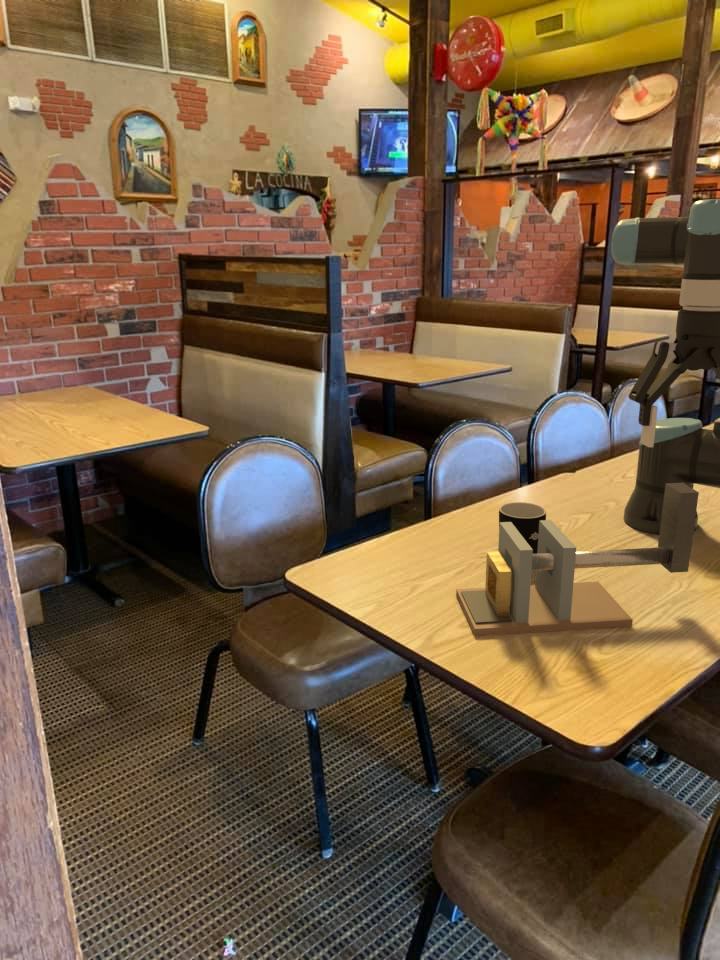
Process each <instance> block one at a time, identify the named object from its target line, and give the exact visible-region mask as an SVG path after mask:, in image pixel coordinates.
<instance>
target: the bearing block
mask: <svg viewBox="0 0 720 960" xmlns="http://www.w3.org/2000/svg"><path fill="white" fill-rule="evenodd" d="M497 549H498V550H497V551H499V553H500V554H501V556H502V557H503V559H504V561H505V562H506V564H507V565H508V567H509V568H510V570H511V571H512V575H511V594H510V613H509V616H497V615H496V613H495V611H494V609H493V608H492V606H491V604H490V602H489V600H488V598H487V597H486V595H485V587H474V588H473V587H472V588H458V589H457V588H455V589H456V590H455V595H456V598H457V599H458V600H457V601H458V602H459V604H460V607H461V609H462V611H463V613H464V615H465V617H466V619H467V622H468V624H469V626H470V629H471V630H472V633H473V635H474V636H489V635H490V636H492V635H505V634H506V635H508V634H510V635H511V634H524V633H537V632H538V633H541V632H555V631H557V632H559V631H574V630H575V631H576V630H592V629H606V628H609V629H610V628H623V627H626V628H627V627H633V621H634V620H633V618H632V617H631V616H630V615H629V614H628V613H627V611H625V609H624V608H623V607H622V606H621V605H620V604H619V602H617V600H616V599H615V598H614V597H613V596H612V595H611V594H610V592H608V591H607V589H606V588H605V587H604V586H603V585H602V584H601V583H600V582H599V581H586V582H585V581H584V582H574V580H575V572H576V571H575V559H576V552H577V546H576V545H575V544H573V542H572V541H571V540H570V539H569V538H568V537H567V535H565V534H564V533H563V531H561V529H560V528H559V527H558V526H557V525H556V524H555V522H553V521H552V520H551V519H546V520H540V521H539V535H538V551H537V554H540V553H553V555H554V563H553V570H539V571H535V581H534V582H535V584H532V572H533V571H532V555H533V549H532V548H531V547H530V546H529V544H528V543H527V542H526V540H525V539H524V538H523V537H522V535H521V534H520V533H519V531H518V530H517V529H516V528H515V526H514V525H513V524H512V522H500V525H499V524H498V548H497Z"/></svg>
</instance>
